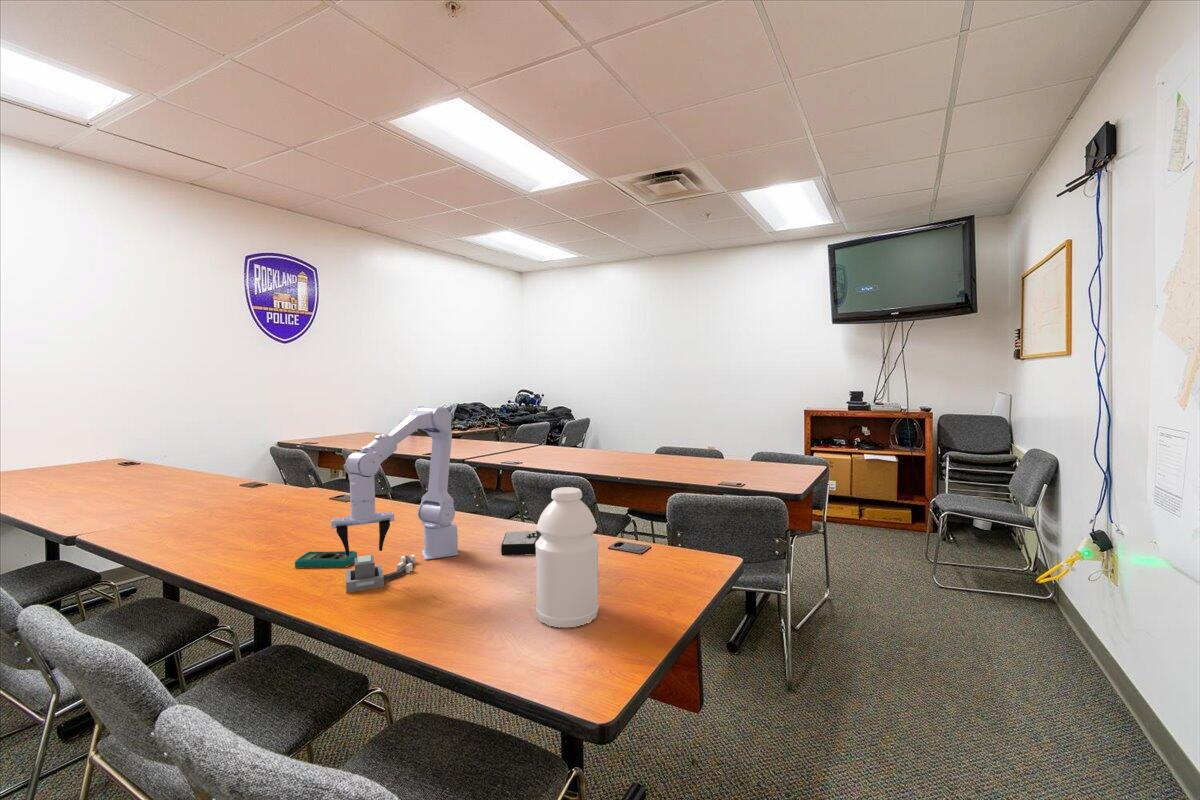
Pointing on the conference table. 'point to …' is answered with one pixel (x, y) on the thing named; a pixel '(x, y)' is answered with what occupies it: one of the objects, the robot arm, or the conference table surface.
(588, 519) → the bottle
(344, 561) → the digital multimeter
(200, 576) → the conference table surface
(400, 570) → the routed cable
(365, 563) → the connector block
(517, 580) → the conference table surface
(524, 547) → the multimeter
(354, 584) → the frame
